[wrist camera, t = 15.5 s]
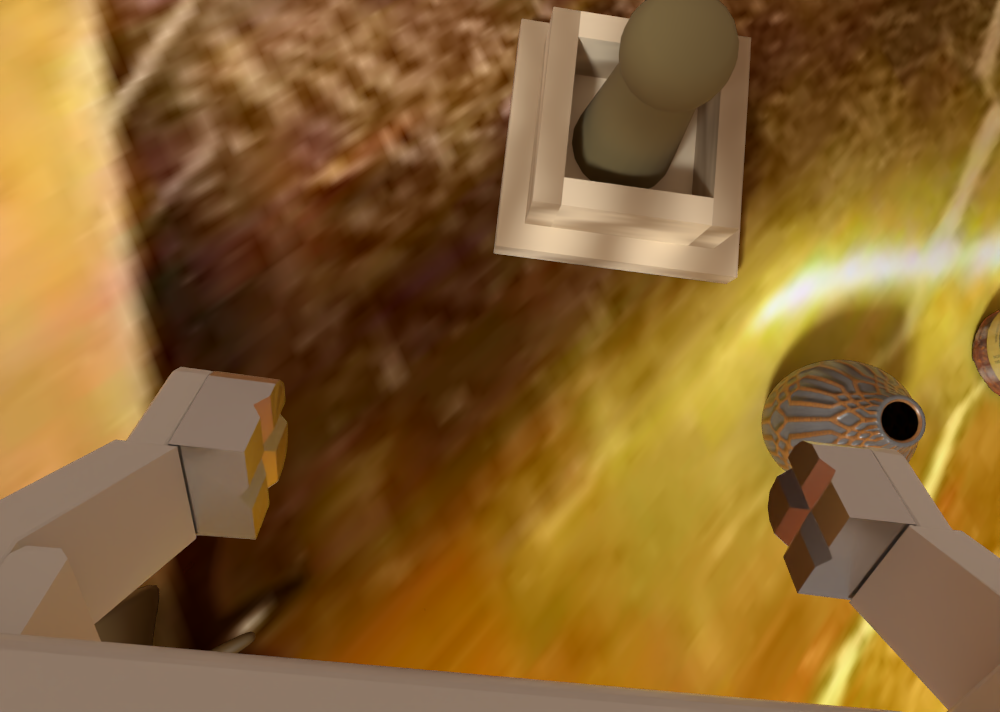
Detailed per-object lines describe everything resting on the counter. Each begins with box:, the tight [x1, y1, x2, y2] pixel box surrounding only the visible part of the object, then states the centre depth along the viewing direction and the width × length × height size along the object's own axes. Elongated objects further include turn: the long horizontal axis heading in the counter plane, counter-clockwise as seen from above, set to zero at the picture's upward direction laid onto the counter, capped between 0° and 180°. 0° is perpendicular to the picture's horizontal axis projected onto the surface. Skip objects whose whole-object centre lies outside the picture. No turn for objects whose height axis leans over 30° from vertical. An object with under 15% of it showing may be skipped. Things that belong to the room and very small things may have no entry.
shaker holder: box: [494, 7, 751, 284], centre depth 38 cm, size 14×14×5 cm
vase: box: [762, 360, 926, 471], centre depth 35 cm, size 7×7×9 cm
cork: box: [572, 0, 739, 189], centre depth 33 cm, size 6×6×11 cm
